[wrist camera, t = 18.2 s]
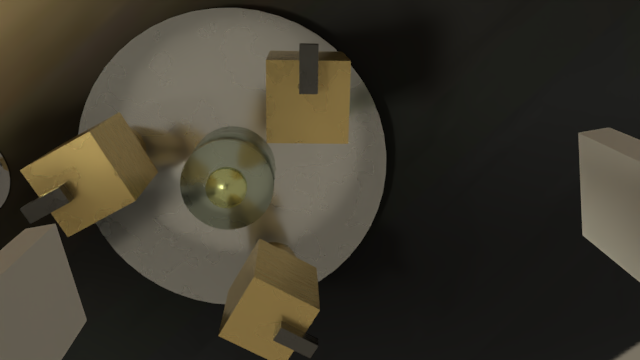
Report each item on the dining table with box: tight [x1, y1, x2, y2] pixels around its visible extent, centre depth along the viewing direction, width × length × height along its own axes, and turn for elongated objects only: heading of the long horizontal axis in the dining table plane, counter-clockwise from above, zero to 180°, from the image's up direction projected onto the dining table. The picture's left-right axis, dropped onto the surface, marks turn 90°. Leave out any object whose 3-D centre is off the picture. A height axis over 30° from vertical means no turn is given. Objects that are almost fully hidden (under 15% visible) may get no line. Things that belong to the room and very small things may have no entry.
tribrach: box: [78, 8, 386, 304], centre depth 41 cm, size 22×22×6 cm
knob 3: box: [218, 238, 320, 360], centre depth 40 cm, size 6×5×9 cm
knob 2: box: [266, 43, 351, 144], centre depth 36 cm, size 6×5×9 cm
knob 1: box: [20, 112, 158, 237], centre depth 37 cm, size 6×5×9 cm
